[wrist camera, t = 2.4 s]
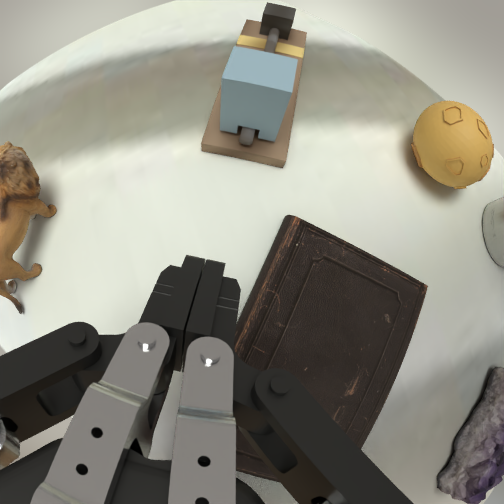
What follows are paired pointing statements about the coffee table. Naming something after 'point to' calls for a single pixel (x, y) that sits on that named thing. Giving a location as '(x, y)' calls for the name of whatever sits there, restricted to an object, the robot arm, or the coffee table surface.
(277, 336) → the hardcover book
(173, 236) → the coffee table surface
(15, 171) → the lion figurine
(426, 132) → the stress ball
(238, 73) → the pale blue squarish block
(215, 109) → the rail
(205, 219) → the coffee table surface
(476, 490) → the geode
